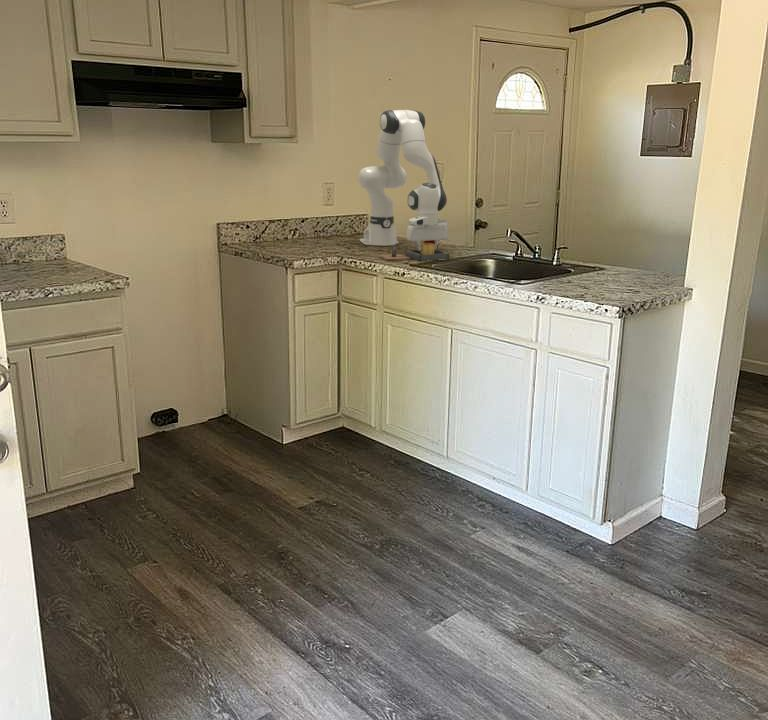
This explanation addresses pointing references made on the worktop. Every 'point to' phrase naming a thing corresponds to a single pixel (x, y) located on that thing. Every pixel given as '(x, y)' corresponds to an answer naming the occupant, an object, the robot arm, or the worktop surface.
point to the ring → (427, 248)
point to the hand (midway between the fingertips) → (427, 250)
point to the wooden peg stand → (393, 255)
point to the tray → (421, 257)
